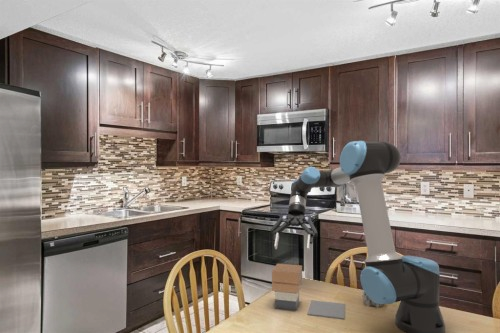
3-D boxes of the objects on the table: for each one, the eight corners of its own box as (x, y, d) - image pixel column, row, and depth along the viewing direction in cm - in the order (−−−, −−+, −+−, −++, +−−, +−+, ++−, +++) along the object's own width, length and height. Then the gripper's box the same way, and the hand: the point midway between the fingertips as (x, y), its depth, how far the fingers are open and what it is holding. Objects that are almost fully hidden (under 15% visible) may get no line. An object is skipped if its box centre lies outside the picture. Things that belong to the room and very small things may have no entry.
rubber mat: (345, 304, 136) (345, 303, 136) (344, 319, 124) (344, 318, 124) (311, 301, 140) (311, 300, 140) (307, 315, 127) (307, 313, 127)
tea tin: (299, 302, 139) (299, 277, 139) (296, 310, 131) (296, 284, 131) (279, 300, 141) (279, 275, 141) (274, 308, 133) (274, 282, 133)
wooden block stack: (302, 284, 139) (302, 265, 139) (298, 293, 130) (298, 273, 130) (277, 281, 142) (277, 263, 142) (271, 290, 132) (271, 270, 132)
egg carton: (382, 309, 133) (382, 298, 133) (361, 305, 136) (361, 295, 136) (384, 299, 143) (384, 289, 143) (364, 296, 146) (365, 286, 146)
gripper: (325, 214, 159) (322, 255, 145) (271, 211, 166) (264, 251, 152) (324, 203, 154) (321, 245, 140) (269, 201, 161) (261, 241, 147)
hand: (291, 248), depth 146 cm, fingers open, 13 cm apart
